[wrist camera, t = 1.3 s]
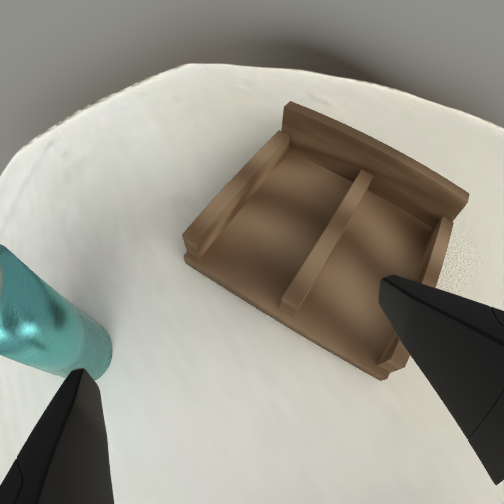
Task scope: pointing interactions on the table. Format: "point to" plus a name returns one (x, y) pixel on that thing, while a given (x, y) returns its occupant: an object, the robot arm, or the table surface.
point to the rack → (327, 234)
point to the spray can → (46, 325)
